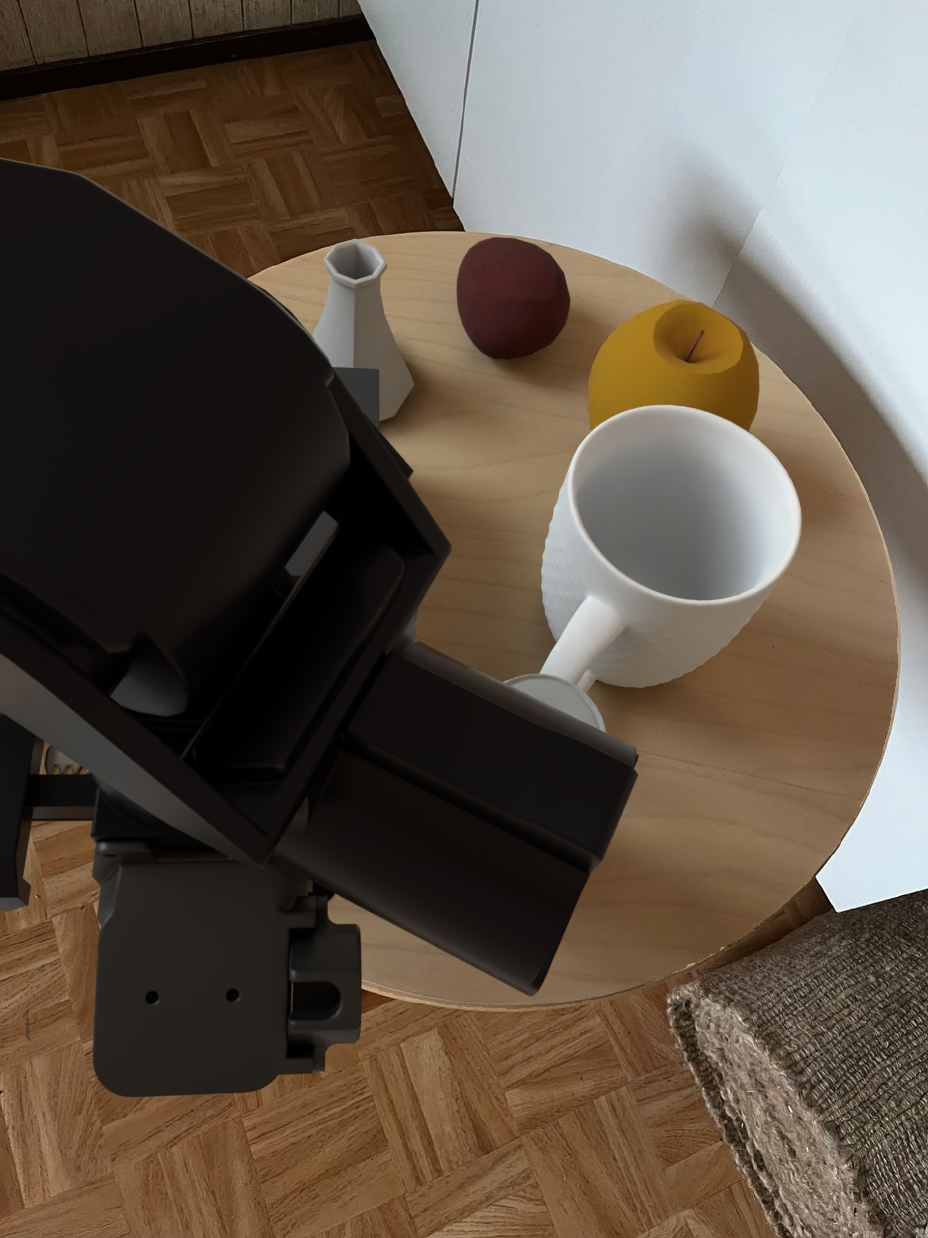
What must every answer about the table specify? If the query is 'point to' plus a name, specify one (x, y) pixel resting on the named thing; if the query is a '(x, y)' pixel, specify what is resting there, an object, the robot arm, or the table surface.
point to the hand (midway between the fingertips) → (243, 867)
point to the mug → (662, 545)
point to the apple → (676, 365)
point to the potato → (511, 297)
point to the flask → (361, 322)
